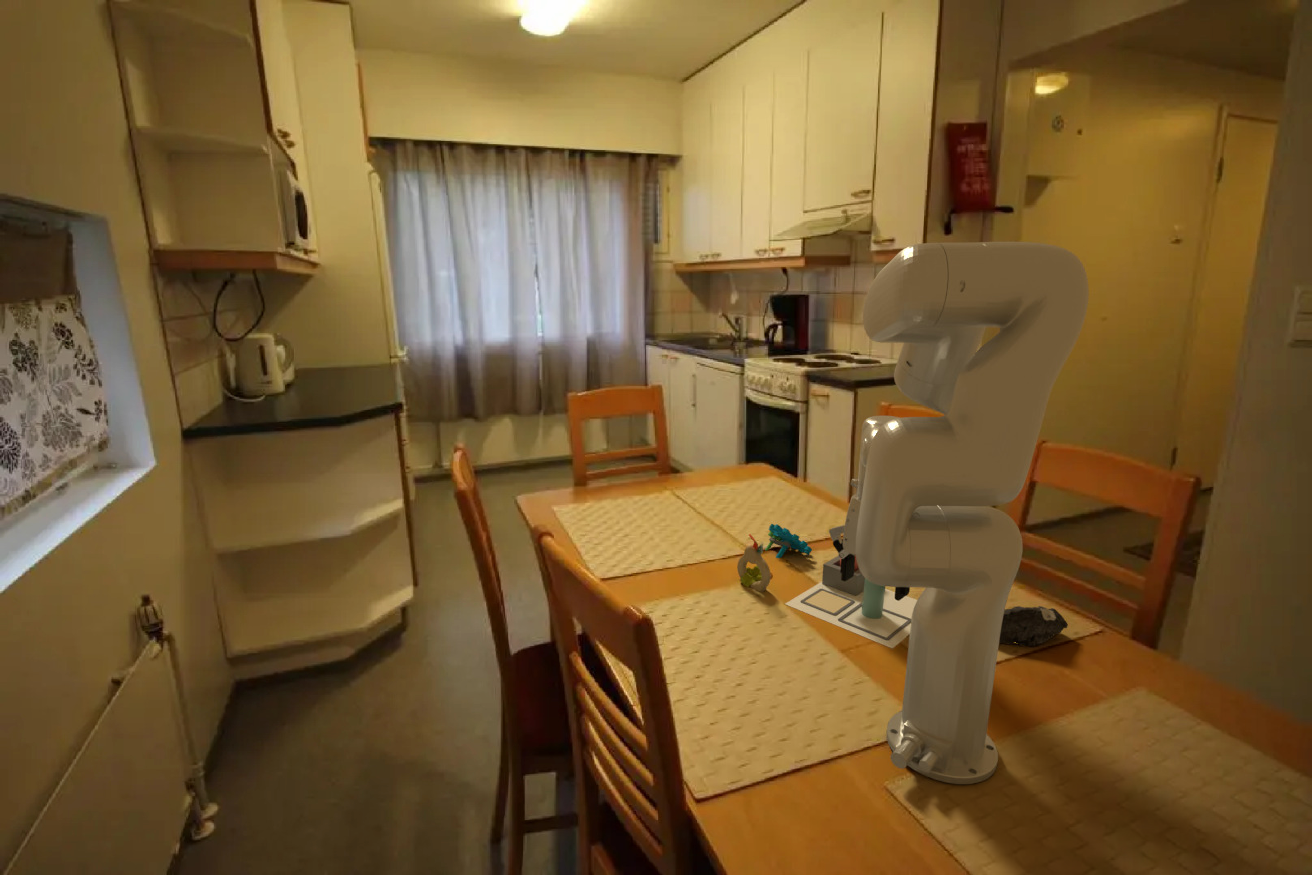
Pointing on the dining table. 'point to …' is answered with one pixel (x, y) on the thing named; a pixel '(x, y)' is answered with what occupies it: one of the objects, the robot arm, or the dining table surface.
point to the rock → (1030, 625)
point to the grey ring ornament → (757, 575)
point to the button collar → (834, 578)
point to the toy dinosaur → (786, 540)
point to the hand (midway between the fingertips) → (873, 587)
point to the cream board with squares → (858, 613)
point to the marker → (873, 600)
